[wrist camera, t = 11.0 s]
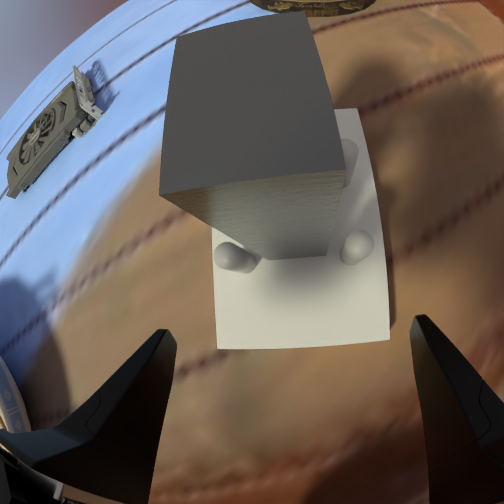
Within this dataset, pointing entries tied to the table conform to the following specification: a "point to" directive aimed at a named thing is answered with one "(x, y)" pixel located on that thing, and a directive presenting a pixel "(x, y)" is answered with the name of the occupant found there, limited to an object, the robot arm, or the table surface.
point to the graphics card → (52, 132)
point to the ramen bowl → (11, 404)
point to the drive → (254, 136)
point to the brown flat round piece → (314, 6)
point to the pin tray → (311, 274)
